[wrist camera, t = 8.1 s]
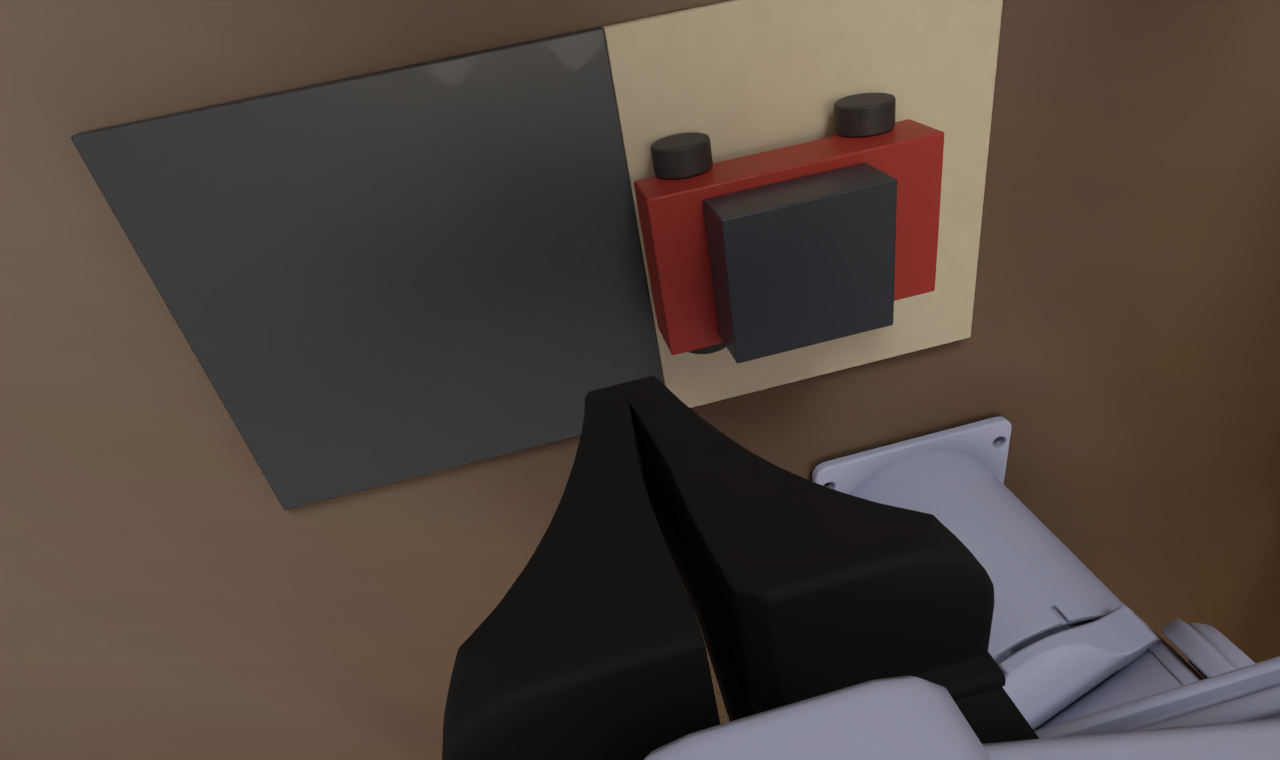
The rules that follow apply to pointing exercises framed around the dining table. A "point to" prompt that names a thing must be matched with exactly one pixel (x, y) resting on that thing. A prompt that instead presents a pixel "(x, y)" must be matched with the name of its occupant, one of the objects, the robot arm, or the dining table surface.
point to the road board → (512, 225)
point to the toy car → (792, 233)
